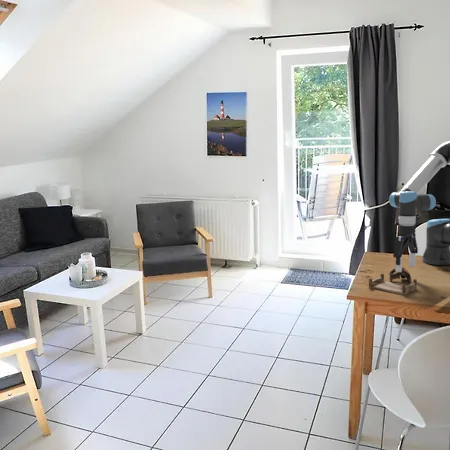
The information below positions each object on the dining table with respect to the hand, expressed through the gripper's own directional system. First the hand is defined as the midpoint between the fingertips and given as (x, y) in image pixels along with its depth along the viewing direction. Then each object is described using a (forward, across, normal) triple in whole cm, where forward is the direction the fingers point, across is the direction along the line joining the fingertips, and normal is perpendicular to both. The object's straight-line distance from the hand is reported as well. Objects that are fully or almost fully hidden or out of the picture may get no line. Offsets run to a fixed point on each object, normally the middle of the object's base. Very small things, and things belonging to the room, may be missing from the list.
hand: (405, 269), depth 230 cm
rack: (+7, +12, 0) cm, 14 cm away
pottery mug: (+8, -1, -1) cm, 8 cm away
